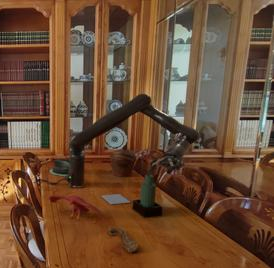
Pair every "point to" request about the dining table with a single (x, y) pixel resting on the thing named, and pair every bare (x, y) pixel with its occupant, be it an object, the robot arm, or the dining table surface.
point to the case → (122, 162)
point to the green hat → (60, 167)
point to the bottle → (148, 192)
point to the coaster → (115, 199)
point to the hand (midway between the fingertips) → (158, 171)
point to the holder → (147, 209)
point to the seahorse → (125, 240)
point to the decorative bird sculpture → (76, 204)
